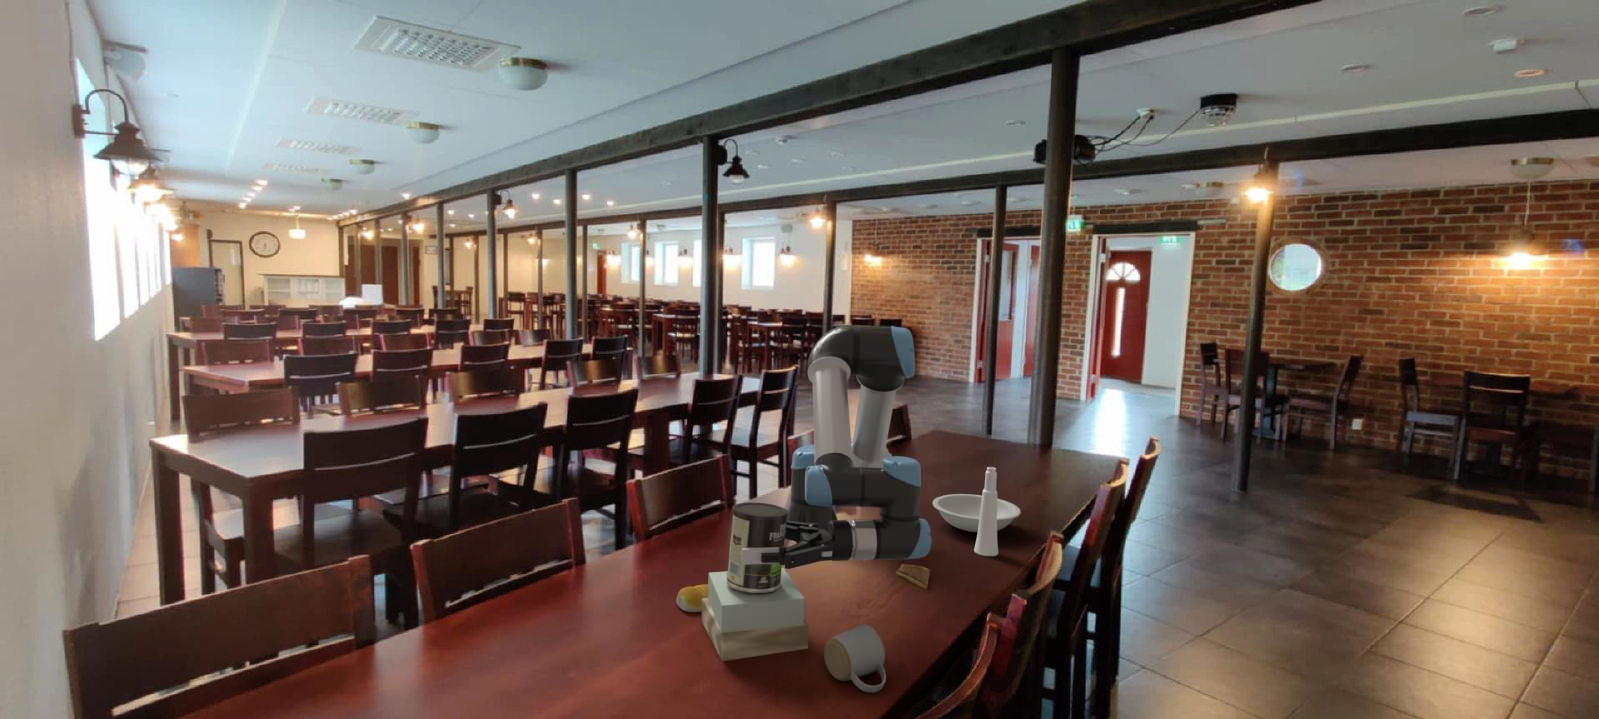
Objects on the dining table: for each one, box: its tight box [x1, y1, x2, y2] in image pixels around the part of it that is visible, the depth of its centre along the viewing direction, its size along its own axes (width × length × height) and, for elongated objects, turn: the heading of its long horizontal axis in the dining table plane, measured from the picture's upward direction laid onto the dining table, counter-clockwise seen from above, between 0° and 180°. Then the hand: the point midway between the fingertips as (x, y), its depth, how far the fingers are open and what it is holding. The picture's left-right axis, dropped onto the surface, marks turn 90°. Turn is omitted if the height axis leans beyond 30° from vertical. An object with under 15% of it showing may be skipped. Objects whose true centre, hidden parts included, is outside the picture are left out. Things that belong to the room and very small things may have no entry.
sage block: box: [707, 566, 805, 633], centre depth 136 cm, size 15×15×5 cm
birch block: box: [701, 598, 810, 662], centre depth 136 cm, size 16×16×5 cm
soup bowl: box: [932, 493, 1021, 533], centre depth 203 cm, size 24×24×7 cm
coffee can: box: [726, 501, 788, 593], centre depth 135 cm, size 10×10×14 cm
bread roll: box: [675, 583, 708, 613], centre depth 148 cm, size 8×9×4 cm
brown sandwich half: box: [895, 563, 931, 590], centre depth 166 cm, size 11×8×2 cm
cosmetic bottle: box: [973, 466, 999, 557], centre depth 184 cm, size 6×6×22 cm
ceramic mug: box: [823, 623, 887, 694], centre depth 122 cm, size 11×8×8 cm
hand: (737, 543), depth 134 cm, fingers open, 13 cm apart
